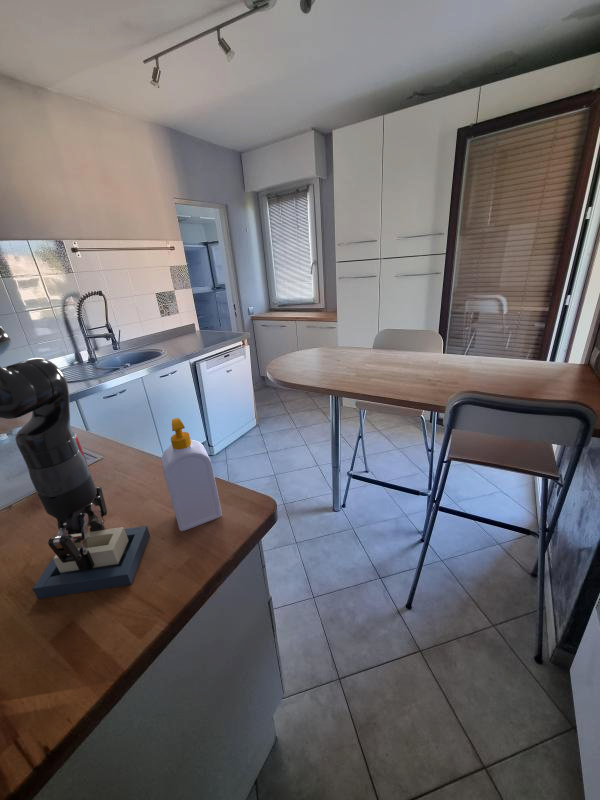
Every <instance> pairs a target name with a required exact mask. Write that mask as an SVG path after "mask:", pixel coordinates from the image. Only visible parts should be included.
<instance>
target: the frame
mask: <svg viewBox="0 0 600 800" xmlns="http://www.w3.org/2000/svg"><path fill="white" fill-rule="evenodd" d="M125 529H126V528H125V527H123V526H121V527H115V528H107V529H105V530H100V531H93V532H90V531H88V532H89V538H88V539H87V540H86V541H87V550H89V553H90V555H91V558H92V560H93V562H94V566H93V568H95V567H102V566H109V565H115V564H119V561H120V559H121V557H122V555H123V552H124V550H125V548H126V546H127V543H128V541H129V540H128V537H127V535H126V532H125ZM71 536H73V537H75V536H82V535H81V533H80V534H71ZM75 546H76V547H77V548H80V544H79V543H75ZM53 557H54V558H53ZM53 557H52V559H54V562H55V564H56V566H57V568H58V570H59V572H60V573H62V572H69V571H75V570H79V569H78V567H77V564H76V562H75V561H72V562H67V563H62V561H61V560H60V559H59V557H58V556H57V555H55V554H54V556H53Z"/></svg>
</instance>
